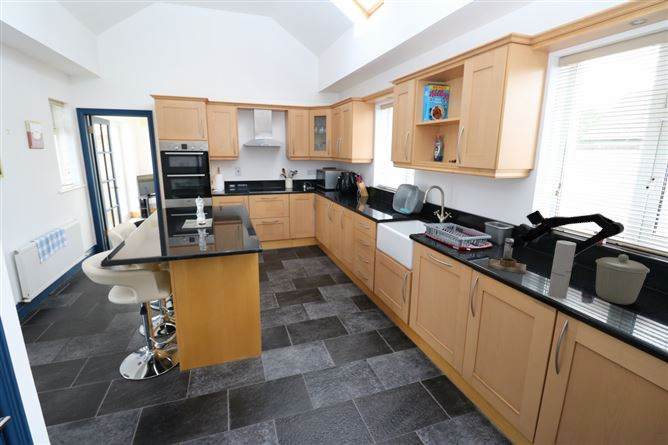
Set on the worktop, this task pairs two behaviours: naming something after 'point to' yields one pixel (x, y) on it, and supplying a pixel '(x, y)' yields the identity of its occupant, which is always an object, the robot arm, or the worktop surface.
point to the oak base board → (518, 269)
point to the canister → (619, 279)
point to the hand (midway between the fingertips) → (515, 246)
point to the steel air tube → (508, 248)
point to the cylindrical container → (561, 269)
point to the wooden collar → (508, 262)
